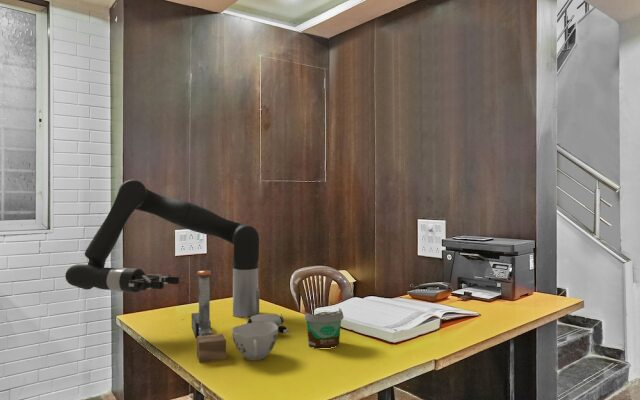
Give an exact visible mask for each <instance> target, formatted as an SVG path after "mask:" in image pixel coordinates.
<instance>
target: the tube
mask: <svg viewBox="0 0 640 400" xmlns="http://www.w3.org/2000/svg"><path fill="white" fill-rule="evenodd" d="M196 274H197V276H198V313H199V324H197V333H198V336H206V335H213V332H212V330H210V322H211V320H210V317H211V315H210V314H211V313H210V312H211V307H210V304H211V303H210V301H211V299H210V297H211V296H210V294H211V293H210V285H211V284H210V282H211V281H210V280H211V279H210V278H211V275H212V270H209V269H208V270H207V269H206V270H198V271H197V272H196Z"/></svg>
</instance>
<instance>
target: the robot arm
mask: <svg viewBox="0 0 640 400" xmlns="http://www.w3.org/2000/svg"><path fill="white" fill-rule="evenodd" d="M135 210H137V211H141V212H145V213H149V214H151V215H155V216H157V217H159V218H161V219H163V220H165V221H167V222H170V223H172V224H173V225H174V224H175V225H177V226H179V227H181V228H183V229H187V230H190V231H193V232H196V233H198V234H199V233H200V234H203V235H208V236H213V237H217V238H220V239H222V240H224V241H226V242H229V243H230V244H232V245H233V259H232V316H234V317H237V318H246V317H247V318H251V317H252V316H254V315H260V288H259V261H260V235H259V232H258V231H257V229H256V228H255V227H253V226H251V225H249V224H244V223H240V222H236V221H233V220H231V219H230V220H229V219H226V218H225V217H222V216H221V215H218V214H217V213H215V212H213V211H210V210H209V209H207V208H205V207H202V206H200V205H197V204H195V203H192V202H189V201H186V200H181V199H178V198H172V197H167V196H164V195H161V194H158V193H157V192H154V191H152V190H150V189H148V188H146V186H145V185H144V183H142V181H140V180H138V179H137V180H136V179H129V180H126V181H123V182H122V184H121V185H120V186H119V188H118V190H117V195H116V197H115V199H114V202H113V204H112V206H111V208H110V210H109V212H108V214H107V216H106V218H105V219H104V221H103V222H102V224H101V225H100V227H99V228H98V230H97V232H96V233H95V235H94V236H93V238H92V239H91V241H90V242H89V245H88V246H87V248H86V249H85V251H84V256H85V257H86V258H87V259H88V262H87V264H84V263H78V264H77V263H76V264H74V265H71V266H70V267H69V268H67V270H66V272H65V281H66V282H67V283H68V284H69V285H71V286H73V287H75V288H76V287H77V288H79V289H82V290H92V289H93V288H96V289H99V290H108V291H114V292H123V293H133V294H134V293H135V294H136V293H137V294H138V293H140V292H141V291H146V290H152V289H155V290H162V289H165V287H164V286H165V284H166V285H179V284H180V277H179V276H171V274H162V273H153V274H151V273H147V274H146V273H145V272H144V271H143V269H140V268H135V267H134V268H132V267H105V264H106V261H107V259H108V257H109V256H110V254H111V253H112V251H113V249H114V247H115V246H116V243H117V242H118V240H119V237H120V236H121V233H122V232H123V230H124V226H125V225H126V223H127V221H128V220H129V218H130V217H131V215H132V214H133V213H134V212H135Z"/></svg>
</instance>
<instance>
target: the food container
mask: <svg viewBox="0 0 640 400" xmlns="http://www.w3.org/2000/svg"><path fill="white" fill-rule="evenodd" d="M343 319H344V313H343V311H342V309H341V308H338V311H323V312H318V313H315V314H313V313H309V312H305V314H304V319H303V320H304V321H306V329H307V342H308V347H310V348H312V347H314V348H313V349H316V348H331V347H335V346H337V345H338V344H339V345H340V334H341V324H342V320H343ZM339 345H338V346H339ZM338 346H337V347H338ZM335 348H336V347H335Z"/></svg>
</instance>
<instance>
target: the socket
mask: <svg viewBox="0 0 640 400" xmlns="http://www.w3.org/2000/svg"><path fill="white" fill-rule="evenodd" d="M196 356H197V360H198V363H200V364H201V363H207V362H214V361H222V360H226V359H227V339H226V337H225V335H224V334H223V333H219V334H218V333H217V334H212V335H206V336H197V338H196Z"/></svg>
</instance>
